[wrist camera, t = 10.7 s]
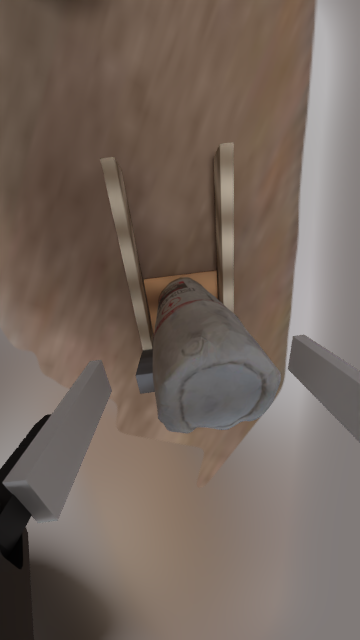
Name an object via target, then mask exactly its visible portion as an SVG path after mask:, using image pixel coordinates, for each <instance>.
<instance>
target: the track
mask: <svg viewBox="0 0 360 640" xmlns="http://www.w3.org/2000/svg"><path fill="white" fill-rule="evenodd" d="M100 160H101V165H102V169H103V174H104V178H105V183H106V187H107V192H108V196H109V200H110V205H111V209H112V214H113V218H114V223H115V227H116V232H117V236H118V241H119V245H120V250H121V254H122V259H123V263H124V268H125V272H126V277H127V281H128V286H129V290H130V295H131V299H132V304H133V308H134V313H135V317H136V322H137V326H138V331H139V335H140V340H141V344H142V349H143V352H142V355H141V358H140V362H139V365H138V369H137V372H136V379H137V383H138V386H139V390H140V394H141V393H149V392H155V390H154V383H153V333H154V332H155V324H156V317H157V309H158V299H159V296H160V294H161V292H162V291H163V290H164V288H165V287H166V286H167V285H168V284H169V283H170V282H172V281H174V280H176V279H178V278H180V277H182V278H183V277H189V278H191V279H193V280H194V281H196V282H198V283H199V284H201V285H202V286H203V287H204V288H205V289H206V290H207V291H208V292H209V293H211V294H212V295H213V296H215V297H216V298H217V299H218V300H219V301H220V302H221V303H222V304H223V305H225V306H226V307H227V308H228V309H229V310H230V311H232V312H233V313H234V143H225V144H220V145H219V147H218V149H217V152H216V154H215V156H214V186H215V216H216V245H217V271H216V270H215V271H207V272H198V273H190V274H182V275H174V276H166V277H158V278H150V279H144V285H145V290H144V285H143V280H142V275H141V269H140V264H139V259H138V254H137V248H136V243H135V238H134V233H133V227H132V222H131V217H130V212H129V206H128V201H127V196H126V191H125V185H124V180H123V175H122V170H121V168H120V166H119V164H118V163H117V161H116V159H115V158H114V157H110V158H102V159H100ZM217 275H218V294H217ZM145 291H146V296H147V301H148V306H147V301H146V296H145ZM148 307H149V311H148ZM149 312H150V317H151V322H152V327H151V322H150V317H149ZM152 328H153V332H152Z"/></svg>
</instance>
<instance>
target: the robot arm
mask: <svg viewBox="0 0 360 640" xmlns="http://www.w3.org/2000/svg"><path fill="white" fill-rule="evenodd" d="M288 369H289V371H290V372H291V373H293V375H294V376H295V377H296V378H297V379H298V380H299V381H300V382H301V383H302V384H303V385H304V386H305V387H306V388H307V389H308V390H309V391H310V392H311V393H312V394H313V395H314V396H315V397H316V398H317V399H318V400H319V401H320V402H321V403H322V404H323V405H324V406H325V407H326V408H327V410H328V411H330V413H331V414H332V415H333V416H334V417H335V418H336V419H337V420H338V421H339V422H340V423H341V424H342V425H343V426H344V427H345V428H346V429H347V430H348V431H349V432H350V433H351V434H352V435H353V436H354V437H355V438H356V439H357V440H358V441H359V442H360V371H359V370H358V369H357V368H355V367H353V366H352V365H350V364H349V363H347V362H346V361H344V360H342V359H341V358H340V357H338V356H336V355H335V354H333V353H332V352H330V351H329V350H327V349H326V348H324V347H322V346H321V345H319V344H318V343H316V342H315V341H313V340H311V339H310V338H308V337H307V336H305V335H299V336H293V340H292V346H291V353H290V359H289V366H288ZM111 392H112V390H111V387H110V384H109V381H108V378H107V375H106V372H105V369H104V366H103V363H102V361H101V360H96V361H90V362H89V363H88V365H87V366H86V368H85V369H84V370H83V372H82V373H81V374H80V376H79V377H78V379H77V380H76V381H75V383H74V384H73V386H72V387H71V388H70V390H69V391H68V392H67V394H66V395H65V397H64V398H63V400H62V401H61V402H60V403H59V405H58V406H57V408H56V409H55V410H54V412H53V413H52V414H50V415H45V416H44V417H43V418H42V419H41V420H40V421H39V422H37V423H36V424H35V425H34V427H33V428H32V429H31V430H30V432H29V433H28V434H27V436H26V438H24V439H23V441H22V442H21V443H20V445H19V447H18V448H17V449H16V450H15V451H14V452H13V454H12V455H11V456H10V457H9V459H8V460H7V461H6V463H5V464H4V465H3V466H2V468H1V469H0V640H34V635H33V616H32V598H31V580H30V564H29V545H28V532H27V529H26V525H27V523H28V521H29V519H30V517H31V516H32V517H33V518H34V519H35V520H36V521H37V523H41V522H50V521H58V518H59V516H60V514H61V511H62V509H63V507H64V504H65V502H66V499H67V497H68V494H69V492H70V490H71V487H72V485H73V483H74V480H75V478H76V476H77V473H78V471H79V468H80V466H81V463H82V461H83V459H84V456H85V454H86V452H87V449H88V447H89V444H90V442H91V440H92V437H93V435H94V432H95V430H96V428H97V425H98V423H99V420H100V418H101V416H102V413H103V411H104V409H105V406H106V404H107V401H108V399H109V397H110V394H111Z"/></svg>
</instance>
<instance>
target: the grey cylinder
mask: <svg viewBox="0 0 360 640" xmlns="http://www.w3.org/2000/svg"><path fill="white" fill-rule="evenodd" d="M280 380H281V373H280V371H279V370H278V369H277V368H276V366H275V365H274V364H273V362H272V361H271V360H270V359H269V357H268V356H267V355H266V353H265V352H264V351H263V349H262V348H261V347H260V346H259V344H258V343H257V342H256V341H255V339H254V338H253V337H252V336H251V335H250V334H249V332H248V331H247V330H246V329H245V328H244V326H243V324H242V323H241V321H240V320H239V319H238V317H237V316H236V315H235V314H234V313H233V312H232V311H230V310H229V309H228V308H227V307H226V306H225V305H223V304H222V303H221V302H220V301H219V300H218V299H217V298H216V297H215V296H213V295H212V294H211V293H209V292H208V291H207V290H206V289H205V288H204V287H203V286H202V285H201V284H199V283H198V282H196V281H194V280H193V279H191V278H189V277H183V278H182V277H180V278H178V279H176V280H174V281H172V282H170V283H169V284H168V285H167V286H166V287H165V288H164V290H163V291H162V292H161V294H160V296H159V299H158V309H157V317H156V324H155V332H154V337H153V383H154V390H155V396H156V403H157V409H158V419H159V420H160V421H161V422H162V423H164V425H165V427H166V429H167V430H169V431H172V432H181V433H190V432H192V431H193V430H194V429H195V428H196V427H209V428H214V429H219V430H225V429H229V428H231V427H233V426H235V425H236V424H238V423H240V422H242V421H253V420H256V419H257V418H259V417H261V416H262V415H263V414H264V413H265V412H266V411H267V409H268V408H269V407H270V405H271V404H272V403H273V401H274V398H275V395H276V392H277V389H278V387H279V384H280Z"/></svg>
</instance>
